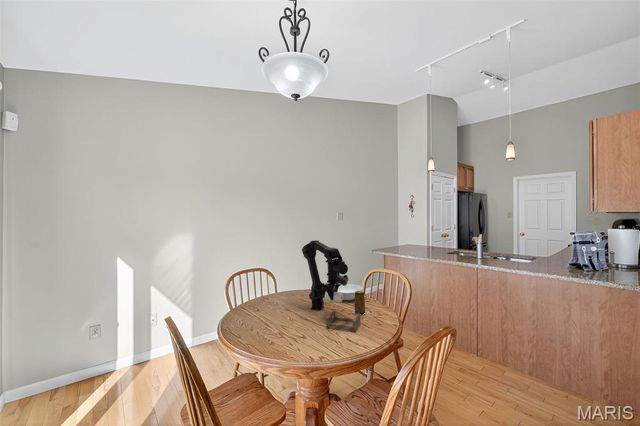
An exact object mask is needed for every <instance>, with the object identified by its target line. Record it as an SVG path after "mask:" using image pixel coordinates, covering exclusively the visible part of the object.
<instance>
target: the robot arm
mask: <svg viewBox="0 0 640 426" xmlns="http://www.w3.org/2000/svg"><path fill="white" fill-rule="evenodd" d="M317 251H318V252H320V253H321V254H323V257H324V258H325V259H326V260H325V263H326V264H327V273H326V277H327V280H326V283H324V282H322V281H321V279H320V274H319V270H318V265H317V262H316V261H317V260H316V256H317ZM301 252H302V254H303V257H304V259H306V261H307V264H308V269H309V272H310V277H311V283H312V284H311V287H310V290H311V291H310V292H309V294H308V298H309V299H310V300H311V307H310V309H311V310H312V311H313V310H315V311H321V310H323V308H325V303H324V302H325V301H324V299H325V292H327V293H328V295H329V297H330V299H331V300H333V297H334V292H337V291H338V288H339V286H340V285H343V286H346V285H347V284H348V281H349V277H348V276H349V275H347V273H348V271H349V267H348V265H347V264H346V261H344V260H343V256H342V254H341V253H340V251H339V249H338V248H336V247H330V246H327V245H326V244H324V243H322V242H321V241H320V240H318V239H317V240H311V241H309V242H308V243H307V244H305V245H303V246H302V249H301Z"/></svg>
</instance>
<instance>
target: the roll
mask: <svg viewBox="0 0 640 426" xmlns="http://www.w3.org/2000/svg"><path fill="white" fill-rule="evenodd" d="M324 300H325V302H333V303H334V302H338V303H342V302H343V301H344V300H343V293H342V292H334V297H333V300H331V299H330V297H329V295H328V293H327V292H325V298H324Z"/></svg>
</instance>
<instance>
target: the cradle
mask: <svg viewBox="0 0 640 426" xmlns="http://www.w3.org/2000/svg"><path fill="white" fill-rule="evenodd" d="M325 319H326V320H325V321H326V330H333V331H334V330H335V331H336V330H337V331H341V332H342V331H343V332H351V333H356V332H357V330H358V329H359V327H360V325H361V315H360V313H358V314H355V317H354V318H350V317H343V316H342V317H341V316H336V310H332V312H330V313H329V315H328V316H327V317H326V318H325Z"/></svg>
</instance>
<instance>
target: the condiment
mask: <svg viewBox="0 0 640 426" xmlns="http://www.w3.org/2000/svg"><path fill="white" fill-rule="evenodd" d="M353 300H354V302H353V303H354V311H351V313H352V314H355V315H357V314H358V313H360V314H361V315H360V317H363V316H367V315H369V314H370V312H369V311H366V297H365V292H364V291H356V292H355V297H354V299H353ZM365 311H366V312H367V313H366V314H364V313H365ZM363 314H364V315H363Z"/></svg>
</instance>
